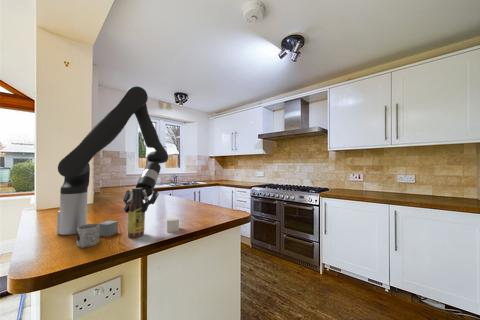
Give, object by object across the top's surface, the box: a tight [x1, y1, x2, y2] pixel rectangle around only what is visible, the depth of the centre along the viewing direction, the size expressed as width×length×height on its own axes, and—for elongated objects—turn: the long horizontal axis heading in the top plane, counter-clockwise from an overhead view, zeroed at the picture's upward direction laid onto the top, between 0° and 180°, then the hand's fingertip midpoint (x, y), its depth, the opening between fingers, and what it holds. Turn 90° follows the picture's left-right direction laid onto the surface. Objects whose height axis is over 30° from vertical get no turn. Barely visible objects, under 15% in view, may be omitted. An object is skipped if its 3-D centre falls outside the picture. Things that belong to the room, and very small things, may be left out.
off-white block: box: [166, 216, 180, 233], centre depth 90 cm, size 5×5×5 cm
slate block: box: [98, 220, 119, 238], centre depth 84 cm, size 5×5×5 cm
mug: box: [76, 223, 100, 249], centre depth 72 cm, size 10×7×7 cm, turn 24°
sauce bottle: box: [127, 187, 146, 239], centre depth 82 cm, size 7×6×20 cm
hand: (134, 211), depth 81 cm, fingers closed on sauce bottle, 6 cm apart
